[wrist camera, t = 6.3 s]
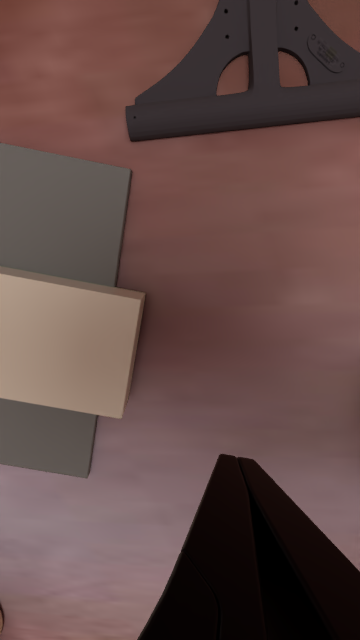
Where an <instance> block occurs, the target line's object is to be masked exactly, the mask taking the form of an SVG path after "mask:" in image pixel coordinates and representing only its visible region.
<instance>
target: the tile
mask: <svg viewBox="0 0 360 640" xmlns="http://www.w3.org/2000/svg"><path fill="white" fill-rule="evenodd" d="M145 296H146V293H144V292H139V291H134V290H128V289H123V288H118V287H113V286H107V285H102V284H97V283H91V282H86V281H81V280H75V279H70V278H65V277H60V276H54V275H49V274H44V273H38V272H33V271H28V270H22V269H17V268H12V267H6V266H1V265H0V398H4V399H9V400H15V401H21V402H27V403H32V404H38V405H44V406H50V407H55V408H61V409H67V410H73V411H78V412H84V413H90V414H96V415H101V416H107V417H113V418H119V419H122V416H123V413H124V411H125V408H126V405H127V402H128V399H129V393H130V387H131V381H132V375H133V369H134V363H135V357H136V351H137V345H138V339H139V333H140V327H141V320H142V314H143V308H144V302H145Z"/></svg>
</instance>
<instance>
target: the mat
mask: <svg viewBox="0 0 360 640" xmlns="http://www.w3.org/2000/svg"><path fill="white" fill-rule="evenodd" d="M131 177H132V171H131V169H127V168H122V167H117V166H112V165H107V164H102V163H97V162H93V161H88V160H83V159H78V158H73V157H68V156H63V155H58V154H53V153H48V152H43V151H38V150H33V149H28V148H23V147H18V146H13V145H8V144H3V143H0V265H1V266H6V267H12V268H17V269H22V270H28V271H33V272H38V273H44V274H49V275H54V276H60V277H65V278H70V279H75V280H81V281H86V282H91V283H97V284H102V285H107V286H113V287H116V283H117V276H118V269H119V261H120V254H121V247H122V240H123V233H124V226H125V219H126V212H127V205H128V198H129V191H130V184H131ZM97 417H98V415H96V414H90V413H84V412H78V411H73V410H67V409H61V408H55V407H50V406H44V405H38V404H32V403H27V402H21V401H15V400H9V399H4V398H0V464H4V465H10V466H16V467H22V468H28V469H34V470H40V471H46V472H52V473H58V474H64V475H70V476H76V477H82V478H88V475H89V473H90V466H91V459H92V452H93V445H94V438H95V431H96V424H97Z"/></svg>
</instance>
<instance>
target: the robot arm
mask: <svg viewBox="0 0 360 640" xmlns="http://www.w3.org/2000/svg"><path fill="white" fill-rule="evenodd" d="M137 640H360V571H359V570H358V569H357V568H356V567H355V566H354V565H353V564H352V563H351V562H350V561H349V560H348V559H347V558H346V557H345V555H344V554H343V553H342V552H341V551H340V550H339V549H338V548H337V547H336V546H335V545H334V544H333V543H332V542H331V541H330V540H329V539H328V538H327V536H326V535H325V534H324V533H323V532H322V531H321V530H320V529H319V528H318V527H317V526H316V525H315V524H314V523H313V522H312V521H311V520H310V518H309V517H308V516H307V515H306V514H305V513H304V512H303V511H302V510H301V509H300V508H299V507H298V506H297V505H296V504H295V503H294V502H293V501H292V499H291V498H290V497H289V496H288V495H287V494H286V493H285V492H284V491H283V490H282V489H281V488H280V487H279V486H278V485H277V484H276V483H275V481H274V480H273V479H272V478H271V477H270V476H269V475H268V474H267V473H266V472H265V471H264V470H263V469H262V468H261V467H260V466H259V465H258V463H257V462H256V461H254V460H253V459H249V458H243V457H238V458H236V457H235V456H232V455H226V454H220V455H219V457H218V459H217V462H216V464H215V467H214V469H213V472H212V474H211V477H210V479H209V482H208V485H207V487H206V490H205V492H204V495H203V497H202V500H201V502H200V505H199V507H198V510H197V512H196V515H195V517H194V520H193V522H192V525H191V527H190V530H189V532H188V535H187V537H186V540H185V542H184V545H183V547H182V550H181V553H180V554H179V556H178V559H177V561H176V564H175V566H174V569H173V571H172V574H171V576H170V578H169V580H168V582H167V585H166V587H165V589H164V591H163V594H162V596H161V597H160V599H159V601H158V603H157V605H156V607H155V609H154V610H153V612H152V614H151V616H150V618H149V620H148V622H147V624H146V625H145V627H144V629H143V631H142V632H141V634H140V636H139V637H138V639H137Z"/></svg>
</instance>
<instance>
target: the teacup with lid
mask: <svg viewBox="0 0 360 640" xmlns="http://www.w3.org/2000/svg"><path fill="white" fill-rule="evenodd" d="M2 626H3V619H2V613H1V610H0V635H1V631H2Z"/></svg>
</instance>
